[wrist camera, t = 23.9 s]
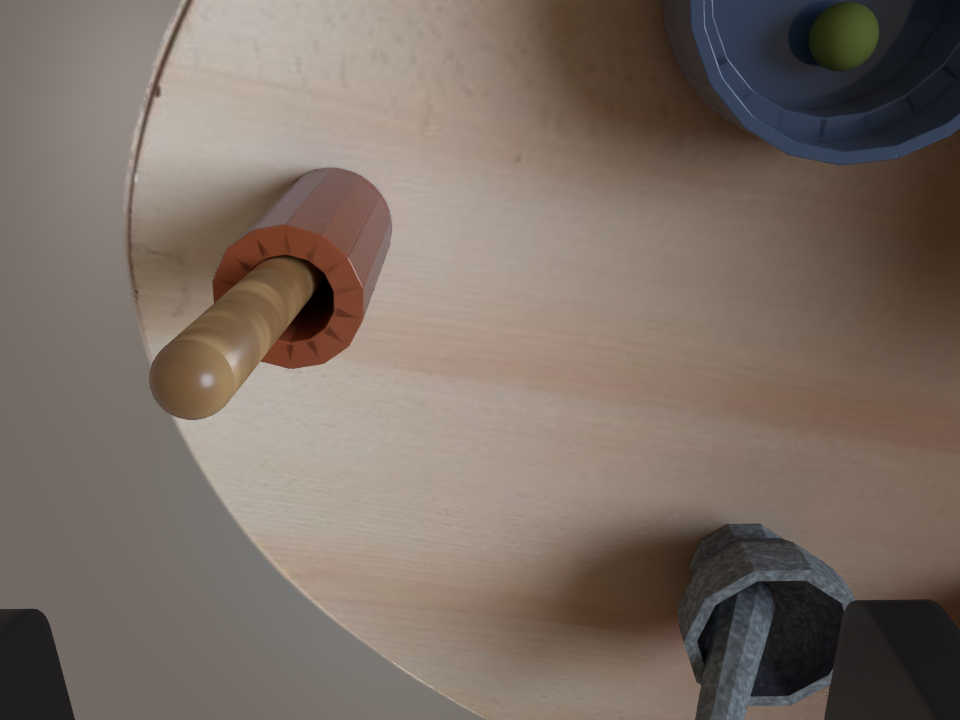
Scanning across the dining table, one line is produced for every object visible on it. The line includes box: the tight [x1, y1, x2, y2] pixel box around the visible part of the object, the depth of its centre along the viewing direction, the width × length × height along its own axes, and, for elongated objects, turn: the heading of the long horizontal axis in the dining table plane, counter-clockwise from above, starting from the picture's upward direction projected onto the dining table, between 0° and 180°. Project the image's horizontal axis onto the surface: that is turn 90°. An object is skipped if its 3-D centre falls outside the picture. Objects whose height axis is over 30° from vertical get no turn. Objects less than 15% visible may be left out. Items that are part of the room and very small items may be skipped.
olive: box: [809, 2, 879, 71], centre depth 40 cm, size 3×3×3 cm
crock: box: [212, 168, 392, 369], centre depth 40 cm, size 6×6×12 cm
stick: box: [149, 255, 326, 420], centre depth 35 cm, size 2×2×22 cm
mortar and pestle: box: [678, 524, 855, 720], centre depth 49 cm, size 11×9×12 cm
